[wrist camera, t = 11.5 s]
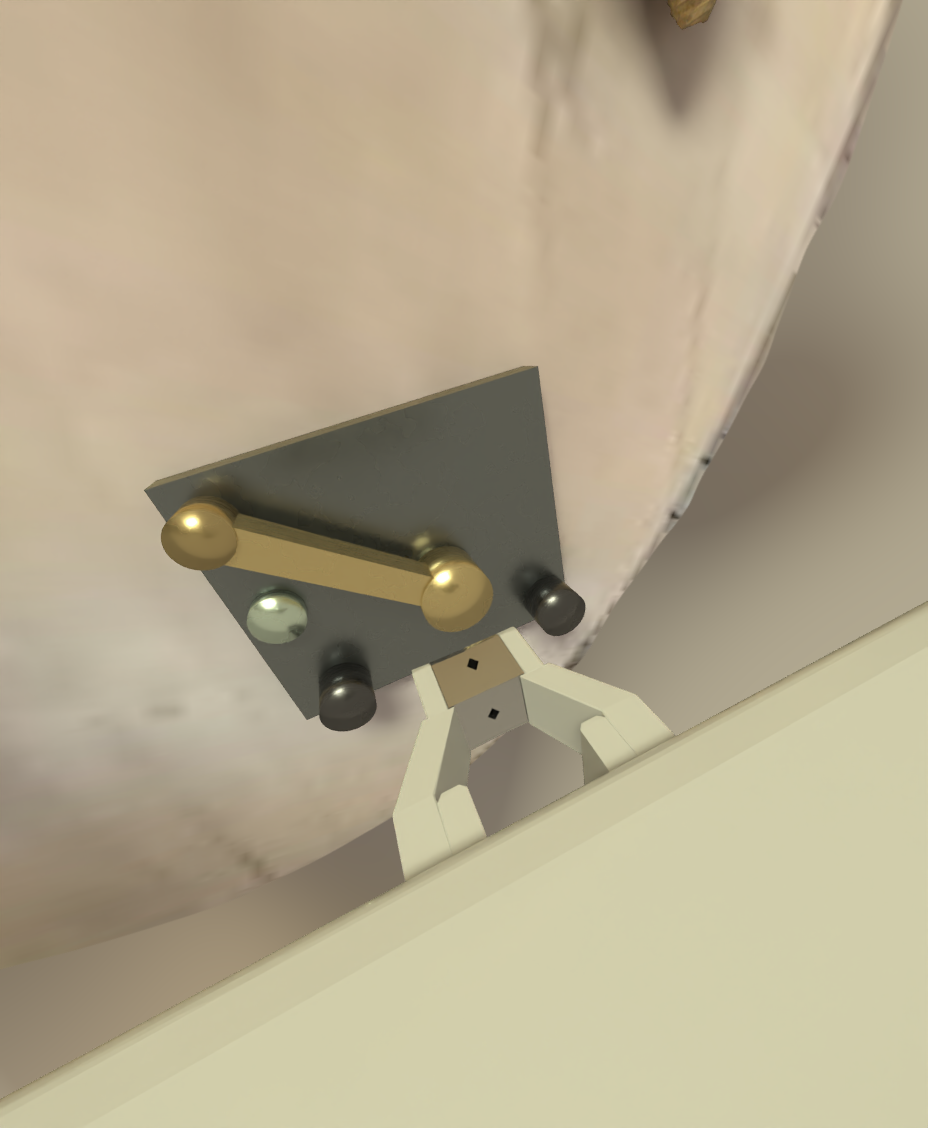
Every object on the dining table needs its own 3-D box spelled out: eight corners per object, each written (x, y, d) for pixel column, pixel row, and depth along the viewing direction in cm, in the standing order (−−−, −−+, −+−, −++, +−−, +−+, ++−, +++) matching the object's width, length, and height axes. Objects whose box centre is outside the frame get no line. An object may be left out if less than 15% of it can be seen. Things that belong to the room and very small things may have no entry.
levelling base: (156, 480, 23) (121, 507, 19) (523, 366, 27) (563, 366, 23) (307, 701, 33) (306, 751, 29) (555, 594, 37) (586, 624, 33)
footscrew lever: (485, 555, 30) (504, 577, 27) (459, 610, 31) (475, 637, 28) (190, 467, 21) (170, 485, 18) (173, 549, 23) (151, 578, 20)
